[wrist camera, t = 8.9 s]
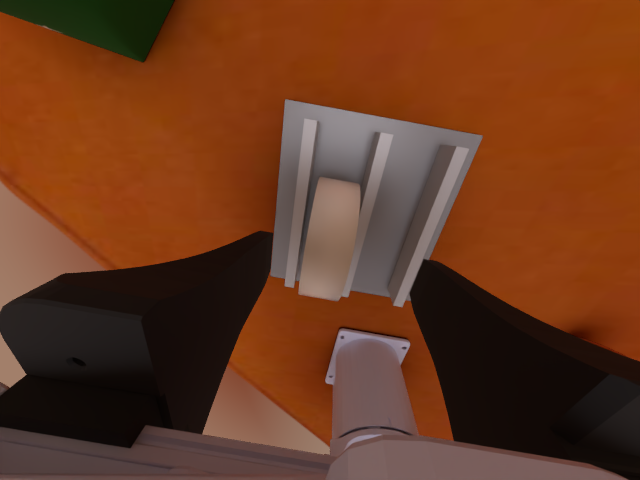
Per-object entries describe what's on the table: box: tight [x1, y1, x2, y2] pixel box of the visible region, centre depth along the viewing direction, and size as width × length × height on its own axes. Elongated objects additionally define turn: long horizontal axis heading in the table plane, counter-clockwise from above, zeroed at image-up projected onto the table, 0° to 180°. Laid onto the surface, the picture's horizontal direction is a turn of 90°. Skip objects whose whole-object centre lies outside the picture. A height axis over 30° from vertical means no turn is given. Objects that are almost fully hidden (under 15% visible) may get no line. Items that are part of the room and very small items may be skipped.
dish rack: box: [271, 99, 483, 307], centre depth 18 cm, size 15×14×3 cm
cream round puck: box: [299, 177, 360, 301], centre depth 16 cm, size 8×2×8 cm, turn 171°
